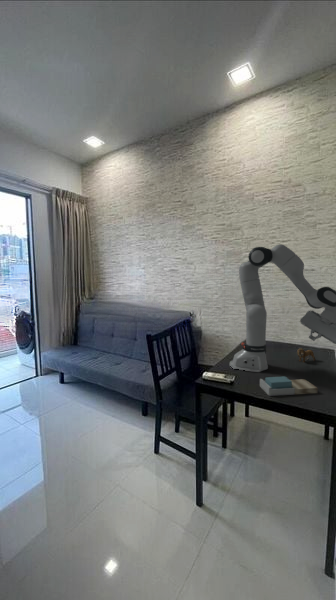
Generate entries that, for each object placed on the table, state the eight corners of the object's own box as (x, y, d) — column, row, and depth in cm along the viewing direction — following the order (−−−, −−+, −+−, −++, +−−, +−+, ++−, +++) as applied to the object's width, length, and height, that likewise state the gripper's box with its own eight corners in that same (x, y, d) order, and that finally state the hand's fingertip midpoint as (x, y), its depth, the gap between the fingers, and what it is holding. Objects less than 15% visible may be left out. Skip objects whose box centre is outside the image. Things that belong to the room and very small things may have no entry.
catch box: (283, 385, 127) (283, 377, 127) (294, 394, 118) (294, 386, 117) (259, 386, 127) (259, 378, 126) (269, 395, 117) (269, 387, 116)
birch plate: (304, 383, 128) (304, 379, 128) (317, 393, 118) (317, 387, 118) (283, 385, 127) (283, 380, 127) (294, 394, 118) (295, 389, 117)
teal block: (284, 376, 125) (265, 377, 124) (291, 381, 119) (271, 382, 118) (284, 386, 125) (265, 387, 124) (291, 391, 119) (271, 392, 119)
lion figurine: (302, 364, 156) (302, 350, 155) (294, 361, 160) (294, 347, 160) (317, 360, 162) (317, 346, 161) (309, 357, 167) (309, 344, 166)
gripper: (309, 306, 135) (292, 325, 135) (348, 327, 122) (330, 349, 121) (310, 311, 140) (294, 330, 140) (348, 332, 126) (330, 353, 126)
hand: (311, 339), depth 131 cm, fingers closed
